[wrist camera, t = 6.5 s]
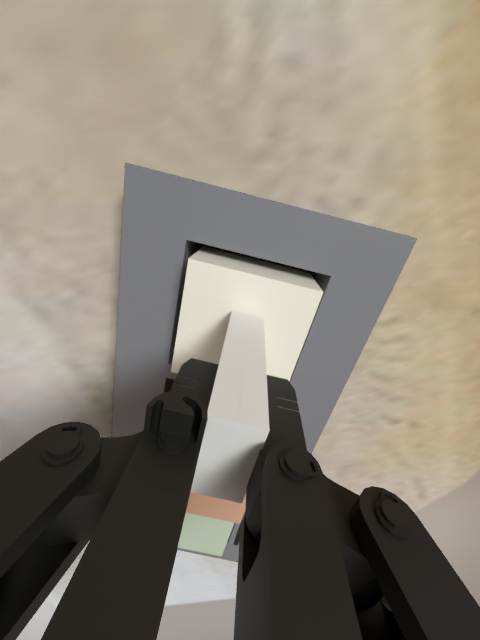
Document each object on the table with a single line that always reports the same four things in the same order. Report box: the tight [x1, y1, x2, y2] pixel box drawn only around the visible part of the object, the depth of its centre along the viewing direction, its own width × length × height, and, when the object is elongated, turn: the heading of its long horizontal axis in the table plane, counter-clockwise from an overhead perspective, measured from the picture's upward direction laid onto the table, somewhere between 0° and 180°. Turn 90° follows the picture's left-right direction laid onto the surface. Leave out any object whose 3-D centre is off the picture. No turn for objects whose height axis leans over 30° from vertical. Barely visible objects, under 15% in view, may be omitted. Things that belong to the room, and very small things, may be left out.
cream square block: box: [171, 246, 323, 381], centre depth 14 cm, size 6×6×4 cm
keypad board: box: [111, 162, 417, 562], centre depth 18 cm, size 28×13×2 cm, turn 167°
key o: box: [178, 513, 234, 556], centre depth 21 cm, size 6×6×4 cm
